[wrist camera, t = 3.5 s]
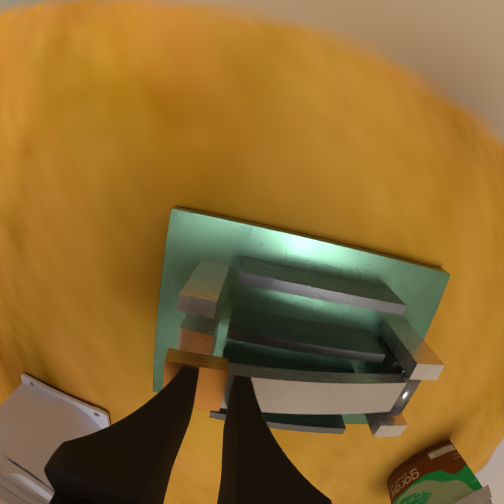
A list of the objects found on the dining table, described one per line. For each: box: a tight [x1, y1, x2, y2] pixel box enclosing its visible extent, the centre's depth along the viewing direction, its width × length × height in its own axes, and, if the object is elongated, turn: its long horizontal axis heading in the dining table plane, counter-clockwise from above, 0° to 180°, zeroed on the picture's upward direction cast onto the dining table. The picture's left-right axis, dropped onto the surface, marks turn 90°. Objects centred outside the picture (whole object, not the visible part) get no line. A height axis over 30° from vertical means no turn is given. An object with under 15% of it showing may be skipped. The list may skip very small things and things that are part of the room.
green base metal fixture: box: [153, 206, 450, 437], centre depth 15 cm, size 16×12×6 cm
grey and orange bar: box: [163, 348, 421, 416], centre depth 12 cm, size 12×2×1 cm, turn 77°
